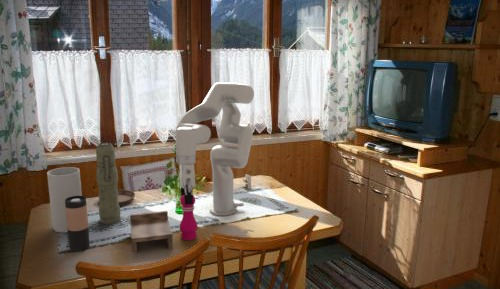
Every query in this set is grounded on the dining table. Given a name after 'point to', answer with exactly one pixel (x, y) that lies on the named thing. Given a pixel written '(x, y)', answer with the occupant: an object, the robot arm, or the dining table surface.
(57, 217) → the cylinder vase
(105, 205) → the stone totem statue
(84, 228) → the travel mug
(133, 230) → the walnut shelf
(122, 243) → the dining table surface
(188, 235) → the pepper mill
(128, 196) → the plant saucer
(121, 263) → the dining table surface
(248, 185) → the architectural model
